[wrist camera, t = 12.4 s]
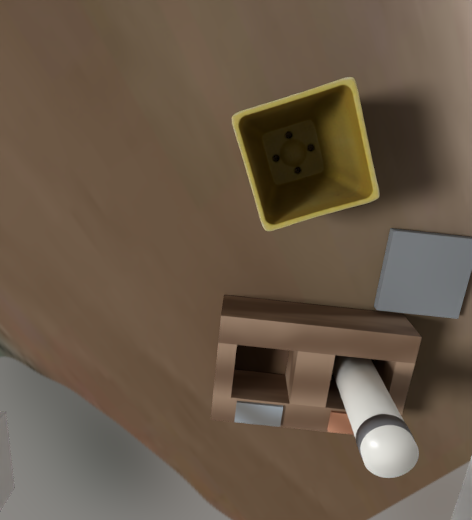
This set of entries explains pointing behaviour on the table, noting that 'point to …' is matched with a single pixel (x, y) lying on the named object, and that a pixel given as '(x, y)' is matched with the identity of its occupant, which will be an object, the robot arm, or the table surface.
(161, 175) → the table surface
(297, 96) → the flower pot
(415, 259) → the mat
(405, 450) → the plug
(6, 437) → the robot arm
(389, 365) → the socket block
